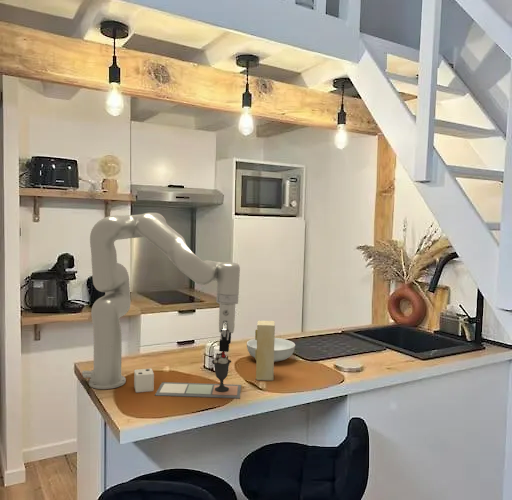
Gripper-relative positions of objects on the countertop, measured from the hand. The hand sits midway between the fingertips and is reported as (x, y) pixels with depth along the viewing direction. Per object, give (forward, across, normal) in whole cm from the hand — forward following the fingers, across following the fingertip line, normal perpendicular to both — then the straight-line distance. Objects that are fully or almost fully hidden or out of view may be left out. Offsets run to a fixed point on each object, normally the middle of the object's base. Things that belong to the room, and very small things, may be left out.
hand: (225, 347), depth 167 cm
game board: (+16, 0, +8) cm, 18 cm away
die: (+16, 0, +28) cm, 32 cm away
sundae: (+15, 0, 0) cm, 15 cm away
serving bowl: (+16, +39, -17) cm, 45 cm away
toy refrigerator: (+16, +16, -14) cm, 27 cm away
